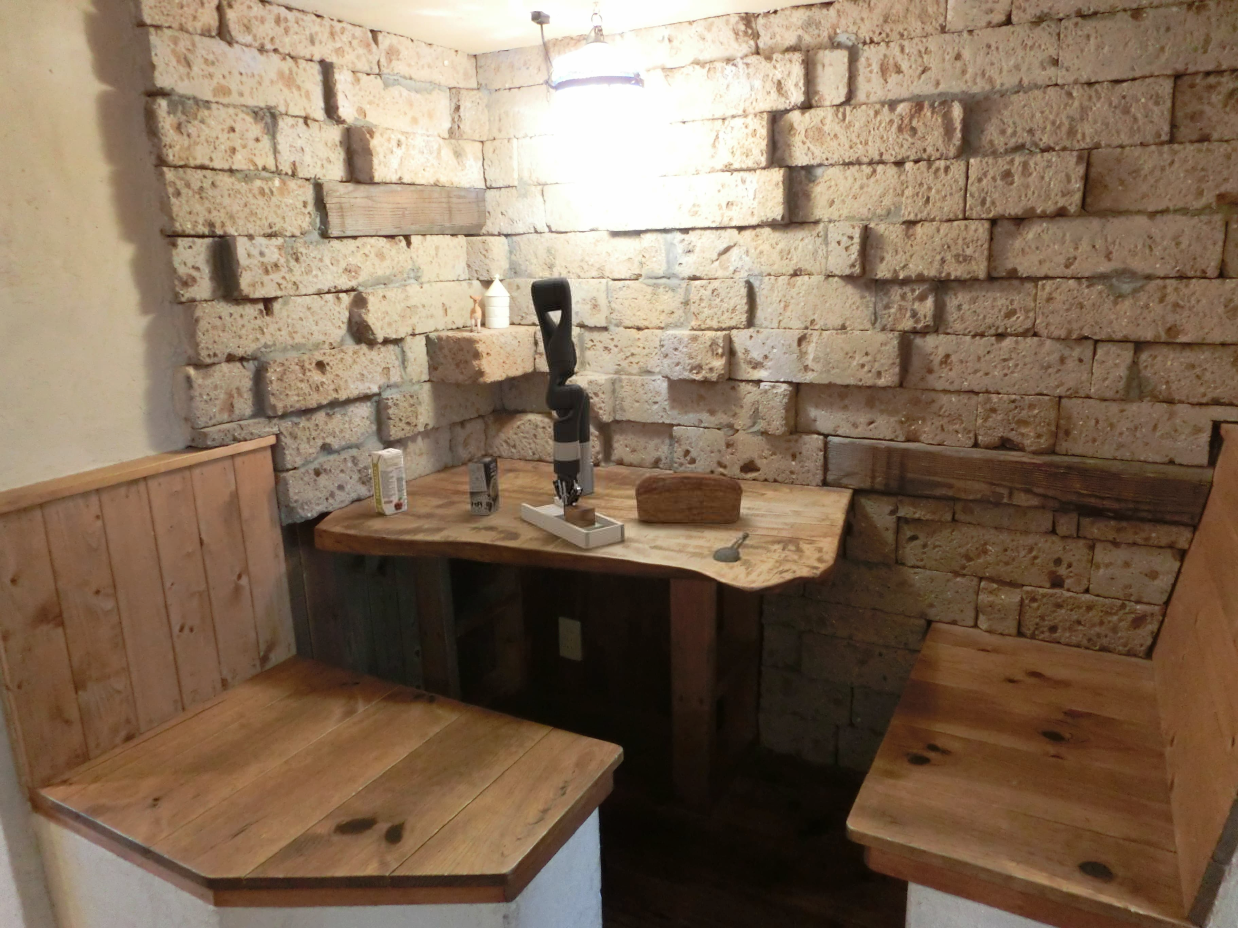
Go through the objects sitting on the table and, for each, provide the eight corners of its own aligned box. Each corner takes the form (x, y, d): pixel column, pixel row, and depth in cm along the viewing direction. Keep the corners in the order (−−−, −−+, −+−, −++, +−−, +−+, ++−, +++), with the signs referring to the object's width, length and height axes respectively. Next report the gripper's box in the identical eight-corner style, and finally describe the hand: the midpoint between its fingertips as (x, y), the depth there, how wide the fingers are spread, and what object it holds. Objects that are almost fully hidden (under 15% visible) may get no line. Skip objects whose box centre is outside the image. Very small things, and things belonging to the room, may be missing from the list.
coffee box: (490, 515, 254) (487, 463, 250) (470, 514, 255) (466, 462, 251) (500, 507, 262) (498, 456, 258) (481, 506, 263) (477, 455, 260)
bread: (743, 525, 239) (743, 479, 236) (634, 524, 242) (633, 479, 239) (741, 513, 251) (742, 469, 248) (637, 512, 254) (636, 468, 251)
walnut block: (583, 519, 239) (583, 502, 238) (595, 524, 234) (594, 507, 233) (565, 523, 236) (564, 506, 235) (576, 528, 231) (576, 511, 230)
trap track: (557, 510, 257) (557, 496, 256) (624, 539, 229) (624, 523, 228) (521, 518, 250) (521, 503, 249) (586, 549, 222) (585, 532, 221)
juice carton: (410, 510, 261) (405, 450, 256) (386, 516, 255) (380, 455, 250) (396, 506, 266) (391, 446, 261) (372, 512, 260) (366, 451, 255)
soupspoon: (709, 565, 212) (734, 569, 209) (709, 552, 211) (735, 556, 209) (734, 535, 231) (758, 539, 229) (735, 524, 230) (759, 527, 228)
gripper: (591, 458, 232) (592, 519, 236) (565, 450, 242) (567, 508, 247) (567, 462, 228) (569, 524, 232) (543, 453, 238) (545, 512, 242)
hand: (568, 515), depth 239 cm, fingers closed
